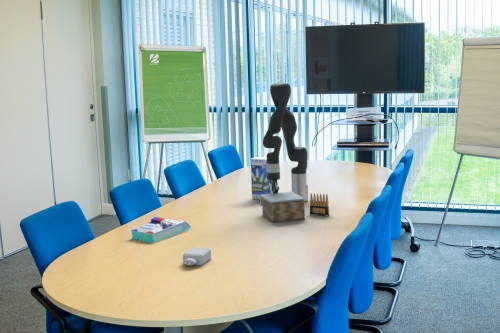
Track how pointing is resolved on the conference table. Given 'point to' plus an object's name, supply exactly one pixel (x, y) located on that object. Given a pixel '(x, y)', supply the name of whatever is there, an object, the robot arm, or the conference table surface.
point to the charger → (196, 256)
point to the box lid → (281, 197)
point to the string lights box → (259, 177)
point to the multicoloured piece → (159, 229)
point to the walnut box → (283, 211)
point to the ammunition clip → (319, 205)
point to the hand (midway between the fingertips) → (274, 201)
